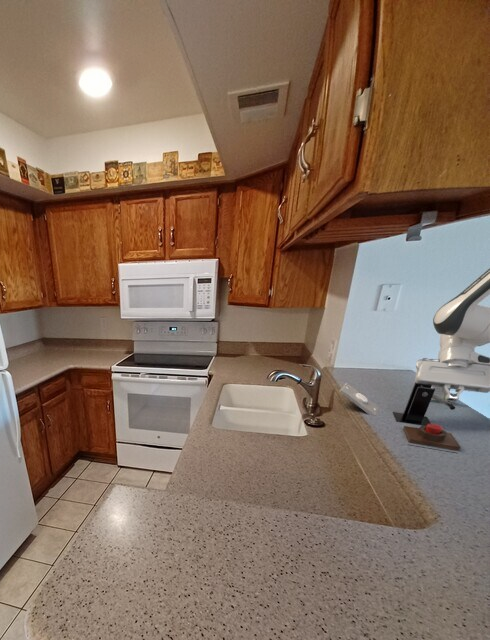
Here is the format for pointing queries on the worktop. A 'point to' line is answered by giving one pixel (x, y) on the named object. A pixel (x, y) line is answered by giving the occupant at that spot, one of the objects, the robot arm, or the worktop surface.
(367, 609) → the worktop surface
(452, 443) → the button box
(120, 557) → the worktop surface
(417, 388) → the bracket
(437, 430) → the button
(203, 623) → the worktop surface
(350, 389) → the light switch
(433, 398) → the switch lever
